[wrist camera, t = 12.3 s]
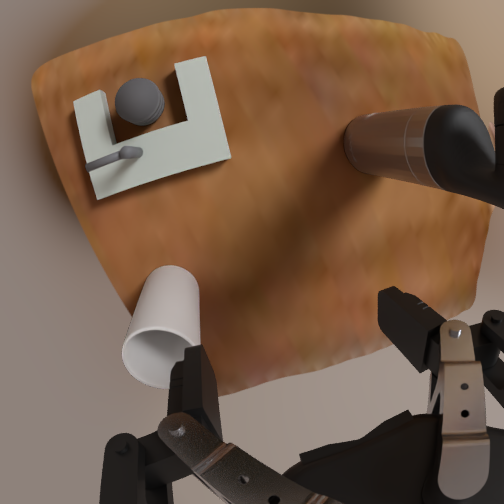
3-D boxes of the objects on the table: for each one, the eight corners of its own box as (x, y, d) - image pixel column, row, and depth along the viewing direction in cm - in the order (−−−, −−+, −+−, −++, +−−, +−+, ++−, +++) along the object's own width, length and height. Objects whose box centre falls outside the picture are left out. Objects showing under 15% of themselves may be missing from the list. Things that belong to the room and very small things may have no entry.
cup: (138, 269, 40) (109, 332, 25) (193, 260, 41) (191, 322, 26) (152, 318, 42) (136, 392, 28) (203, 311, 43) (208, 384, 29)
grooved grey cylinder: (160, 82, 32) (153, 70, 26) (169, 118, 34) (163, 112, 28) (122, 95, 32) (109, 86, 26) (130, 131, 33) (118, 128, 28)
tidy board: (205, 61, 32) (207, 38, 24) (229, 157, 37) (237, 158, 29) (79, 104, 31) (53, 94, 23) (103, 197, 35) (80, 208, 28)
